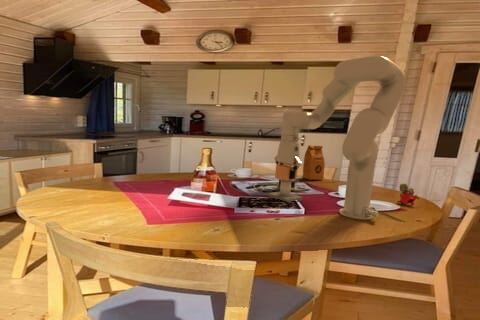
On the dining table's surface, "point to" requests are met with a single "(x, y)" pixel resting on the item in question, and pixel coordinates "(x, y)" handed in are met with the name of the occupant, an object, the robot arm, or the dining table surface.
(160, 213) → the dining table surface
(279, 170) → the orange cube
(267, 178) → the dining table surface
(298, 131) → the robot arm
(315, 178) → the coffee package
